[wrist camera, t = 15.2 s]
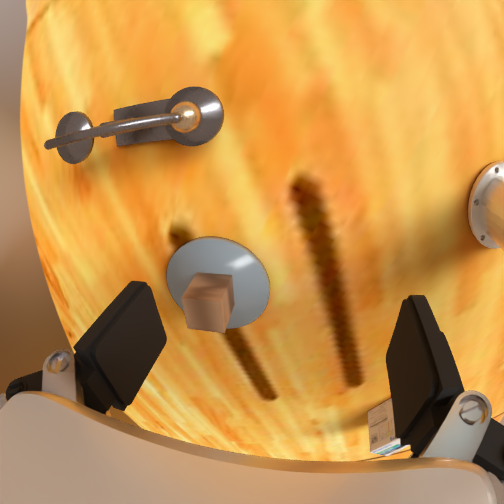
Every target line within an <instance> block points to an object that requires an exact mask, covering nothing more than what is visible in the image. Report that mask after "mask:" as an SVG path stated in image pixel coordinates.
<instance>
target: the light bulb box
mask: <svg viewBox="0 0 504 504" xmlns="http://www.w3.org/2000/svg"><path fill="white" fill-rule="evenodd" d="M367 414H368V426H369V440H370V452H371V453H375V454H380V455H385V456H389V455H391V454H393V453H395V452H397V451H399V450H401V449H403V448H405V447H407V446H409V445H405V446H401V445H400V438H399V439H397V438H396V436H395V426H394V416H393V407H392V399H391V398H390V399H388V400H387V401H385V402H383V403H382V404H380V405H378V406H377V407H375V408H373V409H371V410H370V411H368V412H367Z"/></svg>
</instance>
